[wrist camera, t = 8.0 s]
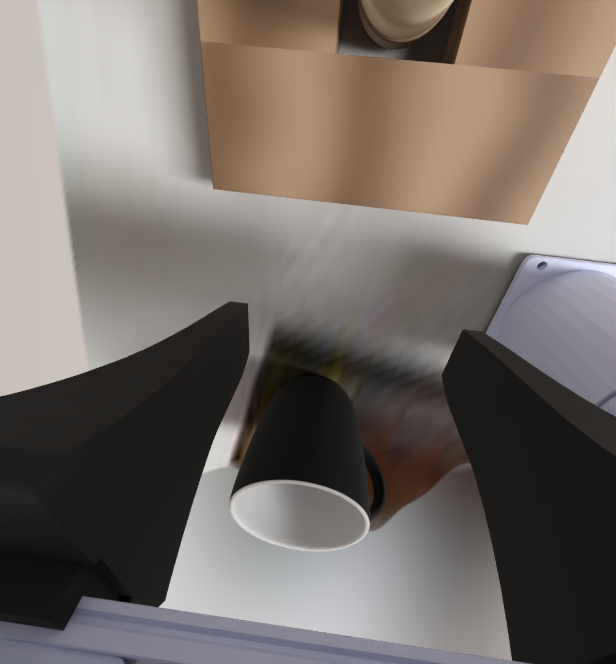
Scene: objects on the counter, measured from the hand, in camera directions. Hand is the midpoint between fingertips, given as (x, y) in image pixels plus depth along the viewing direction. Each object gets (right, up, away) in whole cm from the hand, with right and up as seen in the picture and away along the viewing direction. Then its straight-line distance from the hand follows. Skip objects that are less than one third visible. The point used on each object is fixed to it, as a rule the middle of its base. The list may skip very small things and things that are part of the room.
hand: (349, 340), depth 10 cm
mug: (0, -7, +17) cm, 19 cm away
